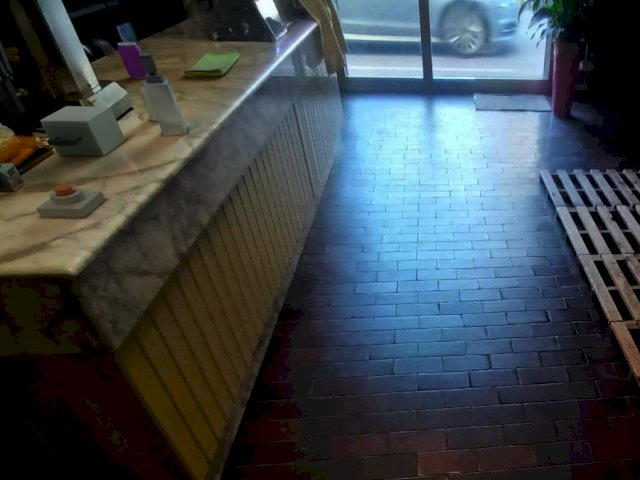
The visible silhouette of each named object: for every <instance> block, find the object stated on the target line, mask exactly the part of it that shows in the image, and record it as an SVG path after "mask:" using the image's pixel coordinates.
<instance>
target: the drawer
mask: <svg viewBox="0 0 640 480" xmlns="http://www.w3.org/2000/svg"><path fill="white" fill-rule="evenodd" d="M41 127H42V129H43V131H44V132H45V134H46V136H47V137H48V139H47V141H46V142H47V144H48V145H49V146H51V147H52V146H53V149H54V150H55V152H56V153H57V154H58V155H59V154H99V153H100V151H99V149H98V147H97V145H96V143H95V141H94V139H93V137H92V135H91V133H90V131H89V129H88V127H87V125H86V124H43V125H42V124H41Z"/></svg>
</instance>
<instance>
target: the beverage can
mask: <svg viewBox="0 0 640 480" xmlns="http://www.w3.org/2000/svg"><path fill="white" fill-rule="evenodd" d="M117 50H118V54H119V56H120V59H121V60H122V63H123V65H124V68H125V70H126V72H127V74H128V76H129V77H130V78H131V79H132V80H133V79H134V80H143V79H145V75H147V74H149V73H147V72H146V70H145V68H144V65H143V63H142V60H141V58H140V57H139V54H142V53H143V52H142V50H141V48H140V47H139V46H138V44H137V43H136V42H135V41H121V42H118V43H117Z"/></svg>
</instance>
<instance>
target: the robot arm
mask: <svg viewBox="0 0 640 480" xmlns="http://www.w3.org/2000/svg"><path fill="white" fill-rule="evenodd" d="M13 72H14V71H13V70H12V67H11V64H10V61H9V59H8V56H7V55H6V52H5V50H4V48H3V44H2V42H1V41H0V99H1V101H2V102H3V104H4V106H5V108H6V109H7V111H8V113H14V114H22V113H24V112H26V109H25V107H24V106H23V104H22V102H21V101H20V99H19V97H18V95H17V93H16V90H15V89H14V88H15V87H14V86H13V84H12V83H11V81H10V80H14V76H13Z"/></svg>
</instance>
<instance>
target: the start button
mask: <svg viewBox="0 0 640 480" xmlns="http://www.w3.org/2000/svg"><path fill="white" fill-rule="evenodd" d="M72 187H73V186H72V184H68V183H67V184H66V183H65V184H60V185H56V186H55V187H53V191H55V192H56V194H57V196H68V195H71V194H74V193H75V191H74V190H73V188H72Z"/></svg>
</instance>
